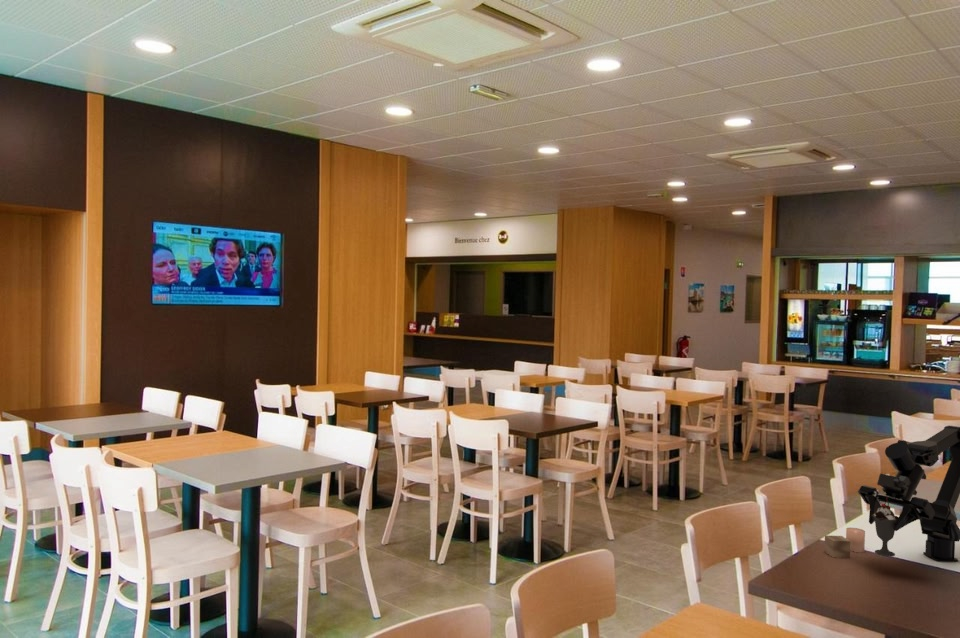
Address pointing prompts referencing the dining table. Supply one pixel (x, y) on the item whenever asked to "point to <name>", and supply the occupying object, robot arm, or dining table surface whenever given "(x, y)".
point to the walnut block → (837, 546)
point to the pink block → (856, 539)
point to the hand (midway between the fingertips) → (882, 526)
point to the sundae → (885, 527)
